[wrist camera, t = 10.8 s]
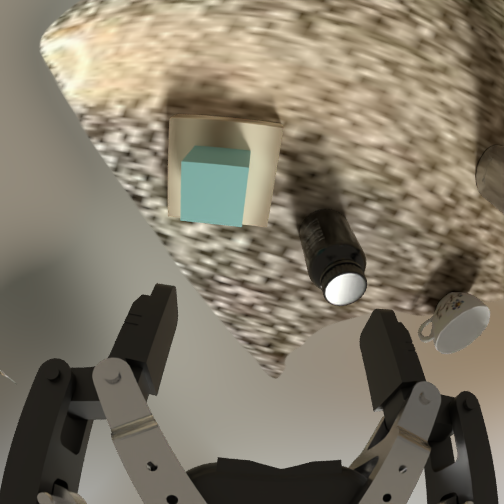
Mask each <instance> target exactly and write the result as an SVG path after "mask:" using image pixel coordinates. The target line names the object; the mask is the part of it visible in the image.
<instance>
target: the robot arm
mask: <svg viewBox="0 0 504 504" xmlns="http://www.w3.org/2000/svg"><path fill="white" fill-rule="evenodd" d="M476 183H477V188H478V190H479V193H480V194H481V195H482V196H483V197H484V198H485V199H486V200H488V201H489V202H490V203H491V204H492V205H494V206H495V207H496V208H497V209H498V210H499V211H500V212H502V213H503V214H504V147H503V146H501V145H494V146H492V147H490V148H489V149H487V150H486V151H485V153H484V154H483V155H482V157H481V159H480V161H479V164H478V167H477V173H476ZM177 321H178V307H177V294H176V287H175V286H171V285H164V284H158V283H157V284H156V285H155V287H154V289H153V291H152V294H151V296H149V295H141V296H140V297H139V298H138V299H137V300H136V301H134V302H133V304H132V306H131V308H130V311H129V313H128V315H127V317H126V319H125V321H124V322H125V323H124V324H123V326H122V328H121V330H120V332H119V335H118V337H117V339H116V341H115V344H114V346H113V348H112V351H111V353H110V355H109V357H108V358H107V359H104V360H102V361H100V362H99V363H98V364H97V365H96V366H94V367H86V368H70V367H69V365H68V364H67V363H66V362H65V361H64V360H61V359H56V358H54V359H50V360H47V361H46V362H45V363H43V364H42V365H41V367H40V368H39V370H38V372H37V375H36V377H35V380H34V382H33V384H32V387H31V389H30V392H29V395H28V397H27V400H26V402H25V405H24V408H23V410H22V413H21V416H20V419H19V422H18V425H17V428H16V431H15V434H14V437H13V441H12V444H11V448H10V451H9V455H8V458H7V462H6V466H5V471H4V475H3V479H2V484H1V489H0V504H87V503H86V501H85V500H84V499H83V498H82V497H81V496H80V495H79V494H77V493H78V487H79V482H80V477H81V472H82V467H83V462H84V457H85V453H86V449H87V444H88V440H89V436H90V432H91V428H92V424H93V420H96V419H107V421H108V423H109V426H110V429H111V432H112V433H111V437H112V440H113V443H114V445H115V448H116V450H117V452H118V454H119V456H120V459H121V461H122V463H123V465H124V467H125V469H126V471H127V473H128V475H129V477H130V479H131V481H132V483H133V485H134V486H135V488H136V490H137V492H138V494H139V495H140V497H141V499H142V501H143V502H144V504H406V503H407V502H408V500H409V498H410V496H411V494H412V492H413V490H414V488H415V486H416V484H417V482H418V480H419V477H420V475H421V473H422V470H423V469H425V479H426V489H427V504H498V494H497V486H496V478H495V471H494V465H493V459H492V454H491V449H490V444H489V440H488V435H487V431H486V427H485V423H484V419H483V416H482V412H481V408H480V405H479V402H478V399H477V398H476V397H475V395H473V394H472V393H471V392H468V391H463V392H461V393H460V394H459V395H458V396H456V397H455V398H454V397H450V396H445V395H441V394H440V392H439V390H438V389H437V388H436V386H434V385H433V384H432V383H430V382H426V379H425V376H424V373H423V370H422V367H421V364H420V361H419V359H418V356H417V353H416V352H415V347H414V345H413V344H412V339H411V337H410V334H409V332H408V330H407V329H406V328H405V326H404V325H403V324H402V323H401V322H398V321H397V318H396V316H395V313H394V311H393V310H389V309H375V310H374V311H373V312H372V314H371V316H370V318H369V320H368V322H367V323H366V325H365V327H364V329H363V331H362V333H361V336H360V349H361V352H362V357H363V362H364V366H365V370H366V375H367V380H368V384H369V390H370V395H371V400H372V405H373V411H374V412H375V411H383V412H384V416H383V417H382V418H381V420H380V422H379V424H378V426H377V427H376V429H375V431H374V433H373V435H372V436H371V438H370V440H369V442H368V443H367V445H366V446H365V448H364V450H363V451H362V453H361V454H360V455H359V456H358V457H357V458H356V459H355V460H354V461H353V462H352V464H351V465H350V466H349V468H347V467H344V466H342V465H341V460H333V461H315V462H309V463H306V464H302V465H298V466H294V467H289V468H285V469H279V468H275V467H271V466H267V465H263V464H260V463H256V462H253V461H250V460H238V459H228V458H219V457H218V461H217V462H216V463H208V464H203V465H200V466H197V467H194V468H192V469H190V470H188V471H187V472H185V470H184V469H183V467H182V466H181V464H180V462H179V461H178V459H177V458H176V456H175V454H174V453H173V451H172V449H171V447H170V446H169V444H168V442H167V440H166V439H165V437H164V435H163V433H162V431H161V430H160V428H159V426H158V424H157V422H156V420H155V419H154V417H153V415H152V413H151V411H150V409H149V407H148V405H147V399H148V396H149V394H151V395H156V396H157V394H158V390H159V386H160V382H161V379H162V375H163V372H164V368H165V365H166V361H167V358H168V354H169V351H170V347H171V344H172V340H173V337H174V334H175V330H176V326H177ZM453 434H454V436H455V442H456V447H457V452H458V457H457V460H456V462H455V461H454V455H453V449H452V443H451V438H450V436H451V435H453Z"/></svg>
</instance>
